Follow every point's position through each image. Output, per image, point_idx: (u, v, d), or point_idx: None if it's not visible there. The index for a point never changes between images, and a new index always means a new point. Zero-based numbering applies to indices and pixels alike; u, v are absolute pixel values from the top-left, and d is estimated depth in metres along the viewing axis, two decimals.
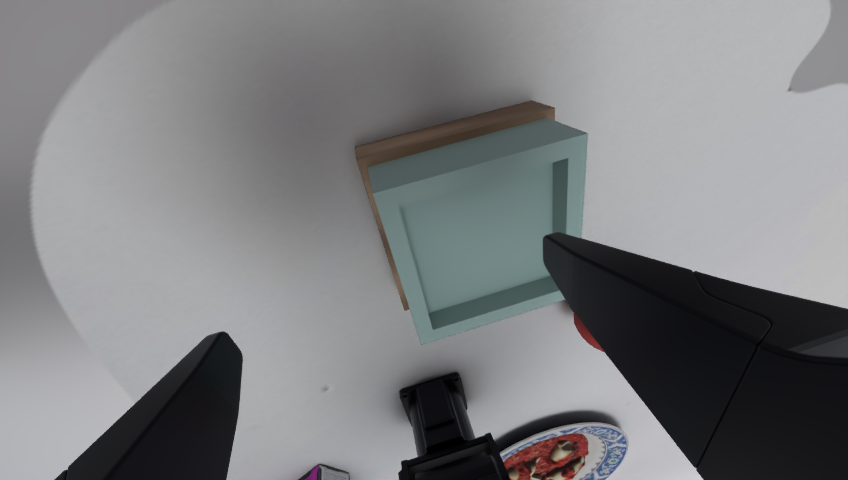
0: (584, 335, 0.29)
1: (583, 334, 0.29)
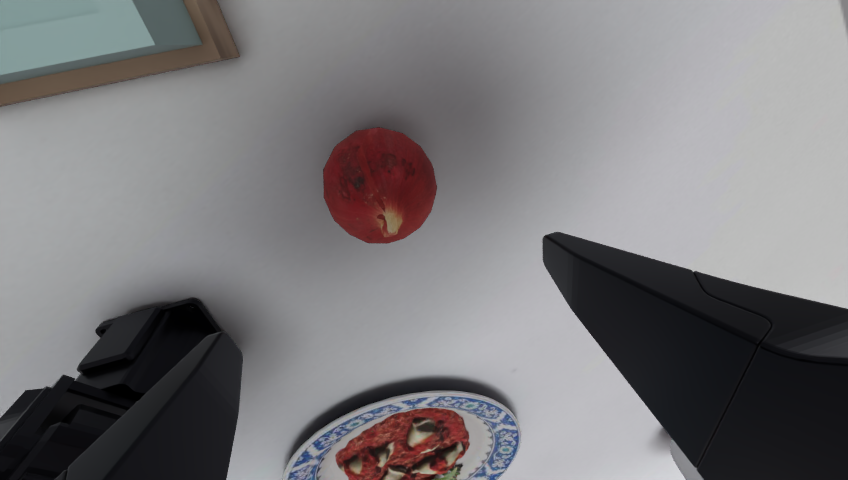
0: (330, 212, 0.17)
1: None
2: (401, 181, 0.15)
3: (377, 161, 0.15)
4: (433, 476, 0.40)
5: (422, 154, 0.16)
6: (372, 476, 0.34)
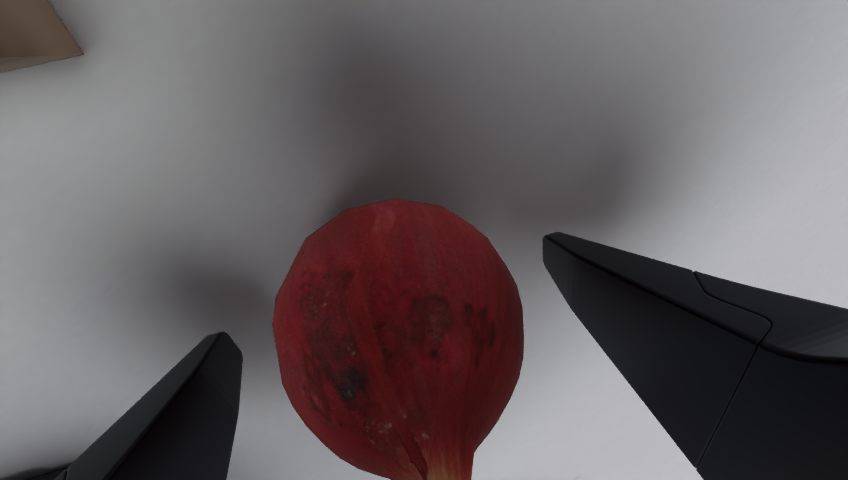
0: None
1: None
2: (466, 376, 0.05)
3: (400, 324, 0.05)
4: None
5: (500, 267, 0.07)
6: None
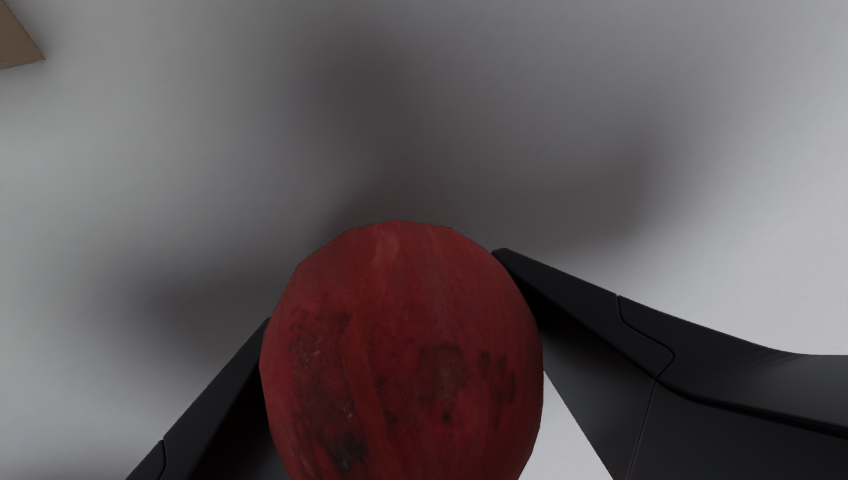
0: None
1: None
2: (484, 441, 0.05)
3: (406, 381, 0.05)
4: None
5: (518, 301, 0.06)
6: None
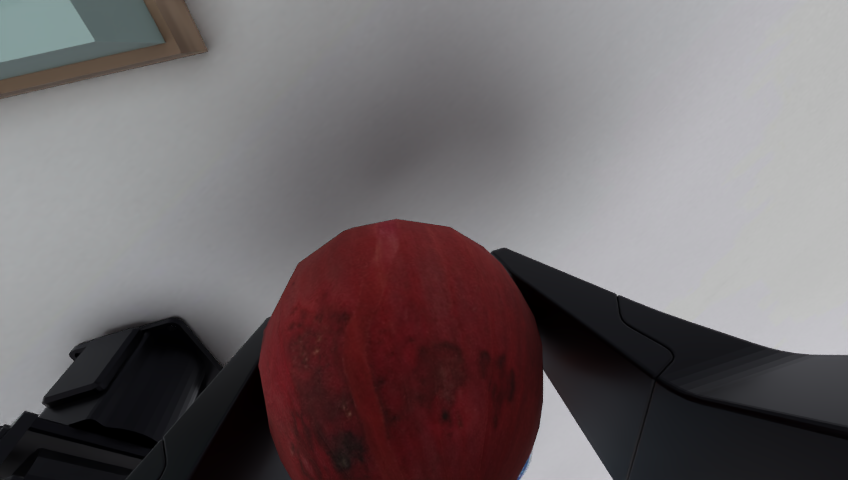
0: None
1: None
2: (484, 440, 0.05)
3: (405, 380, 0.05)
4: None
5: (517, 300, 0.06)
6: None
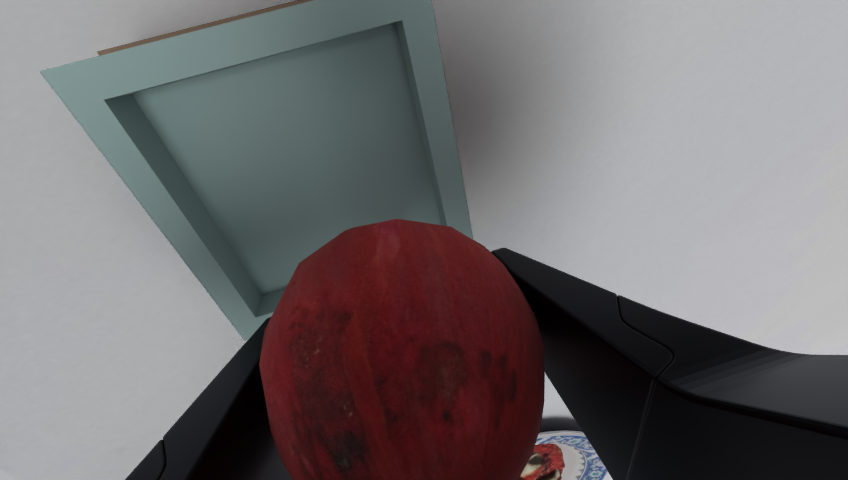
0: None
1: None
2: (485, 441, 0.05)
3: (407, 379, 0.05)
4: None
5: (519, 300, 0.06)
6: None
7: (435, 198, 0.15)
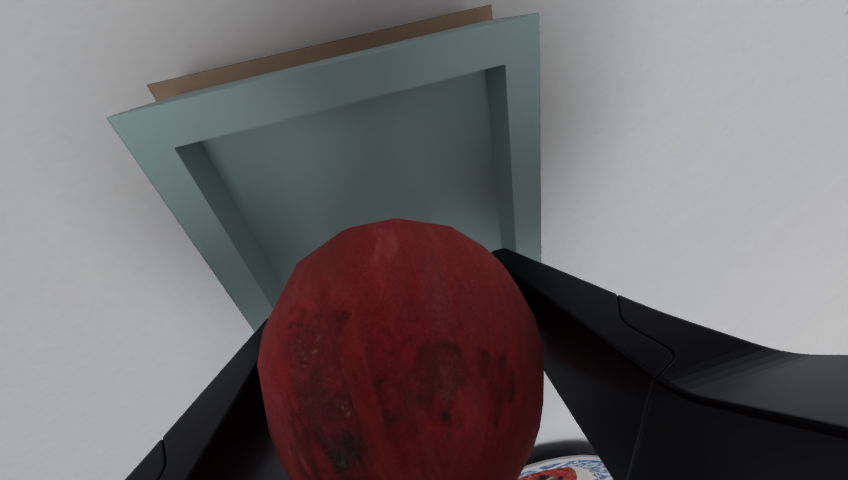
0: None
1: None
2: (483, 441, 0.05)
3: (404, 380, 0.04)
4: None
5: (518, 299, 0.06)
6: None
7: (501, 240, 0.14)
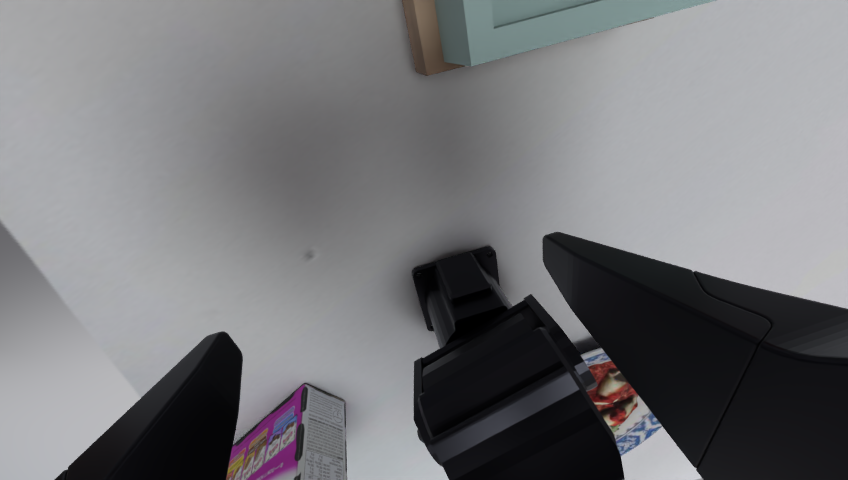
0: None
1: None
2: None
3: None
4: None
5: None
6: None
7: None
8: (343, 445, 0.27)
